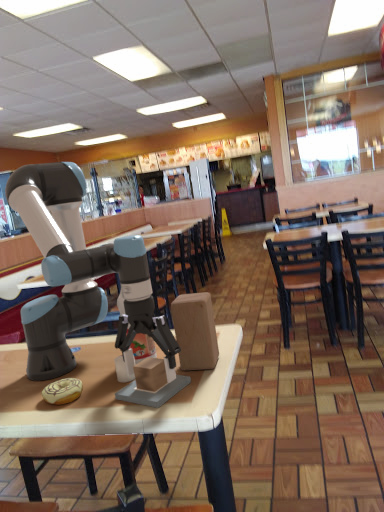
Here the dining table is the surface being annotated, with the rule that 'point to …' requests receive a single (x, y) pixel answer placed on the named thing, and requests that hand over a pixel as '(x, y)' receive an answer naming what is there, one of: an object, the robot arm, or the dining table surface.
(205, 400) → the dining table surface
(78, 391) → the decorated donut
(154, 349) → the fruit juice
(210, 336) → the wooden block
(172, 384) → the slate board
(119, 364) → the marshmallow
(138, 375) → the walnut cube
